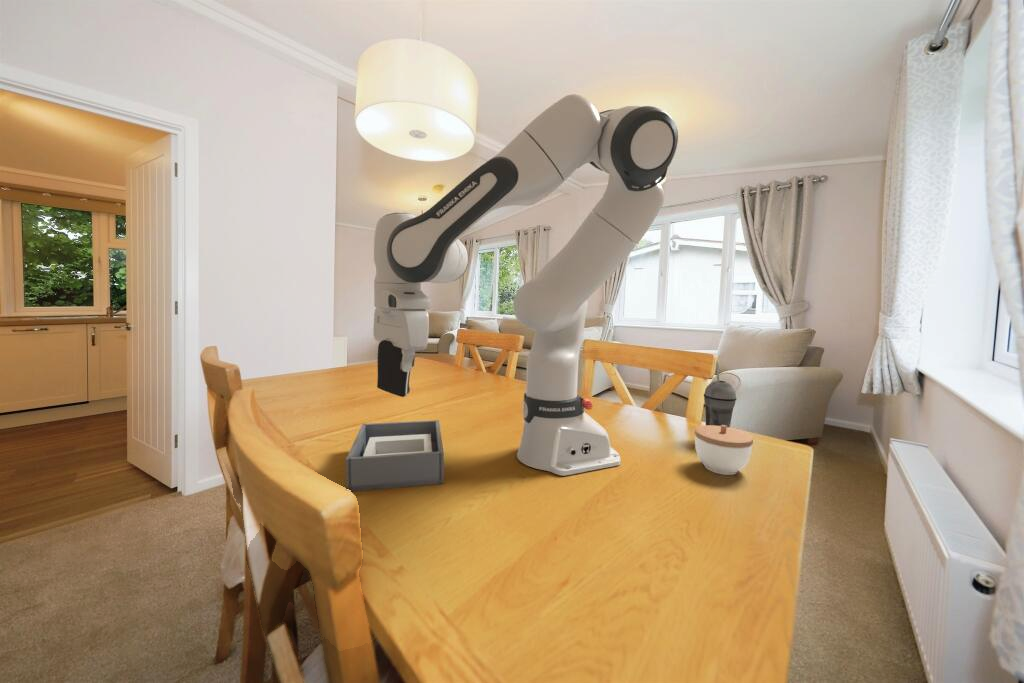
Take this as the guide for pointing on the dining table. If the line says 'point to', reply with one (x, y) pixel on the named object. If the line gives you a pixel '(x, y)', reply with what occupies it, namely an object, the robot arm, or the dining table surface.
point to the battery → (392, 369)
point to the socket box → (396, 456)
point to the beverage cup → (719, 402)
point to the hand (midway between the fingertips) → (398, 367)
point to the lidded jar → (723, 448)
